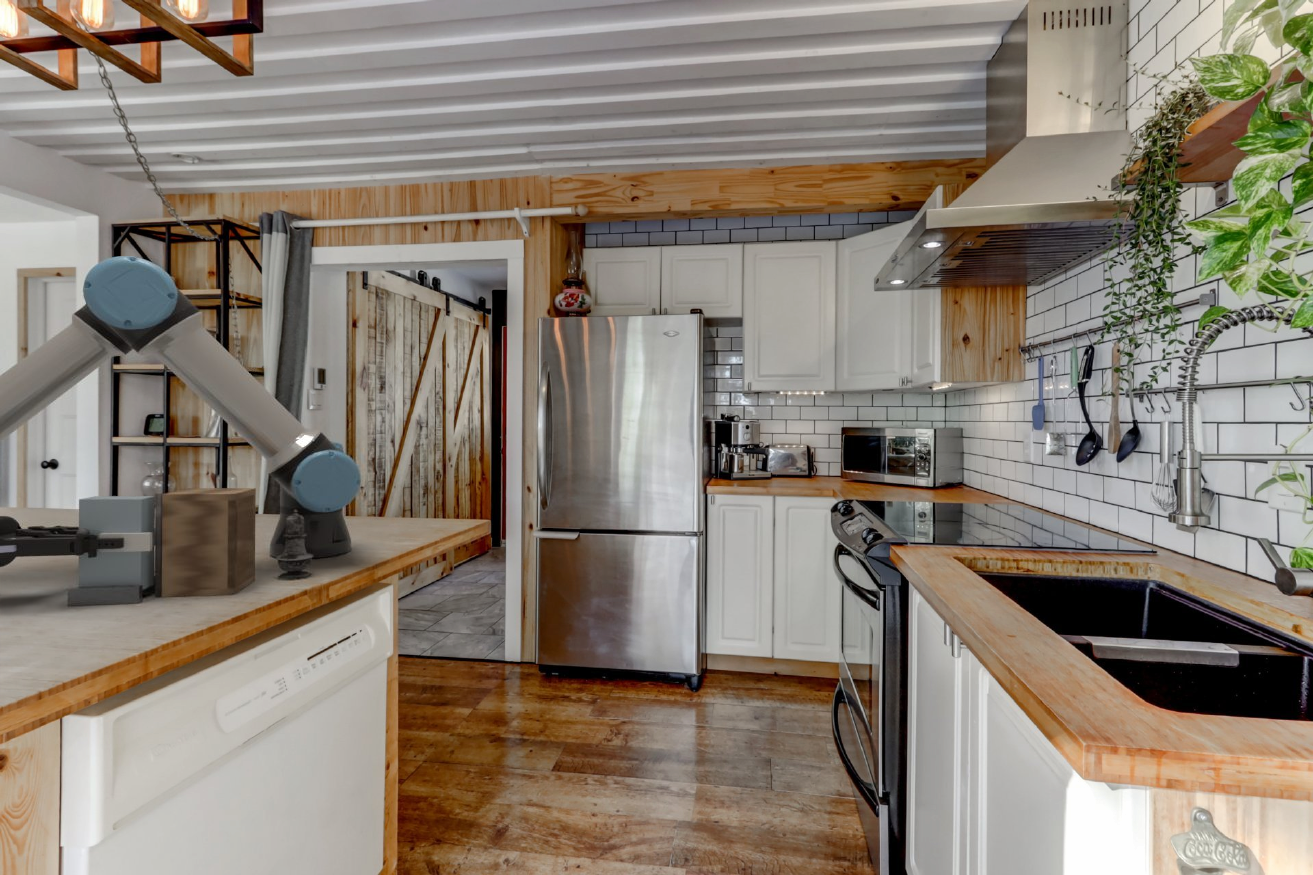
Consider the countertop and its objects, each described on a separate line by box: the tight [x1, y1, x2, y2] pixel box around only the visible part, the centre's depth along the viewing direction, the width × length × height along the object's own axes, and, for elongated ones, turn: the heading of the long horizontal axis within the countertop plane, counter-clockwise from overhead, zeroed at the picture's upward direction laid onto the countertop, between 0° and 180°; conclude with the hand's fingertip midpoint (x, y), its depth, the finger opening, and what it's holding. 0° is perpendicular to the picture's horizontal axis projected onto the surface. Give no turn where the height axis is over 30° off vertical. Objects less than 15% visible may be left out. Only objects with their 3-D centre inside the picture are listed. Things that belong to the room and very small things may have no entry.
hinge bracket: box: [66, 574, 155, 607], centre depth 99 cm, size 9×8×2 cm
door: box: [76, 495, 155, 590], centre depth 99 cm, size 8×5×14 cm, turn 104°
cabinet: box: [154, 487, 257, 598], centre depth 106 cm, size 11×9×16 cm
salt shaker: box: [275, 509, 314, 581], centre depth 115 cm, size 6×6×12 cm
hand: (158, 539), depth 101 cm, fingers closed on door, 4 cm apart
